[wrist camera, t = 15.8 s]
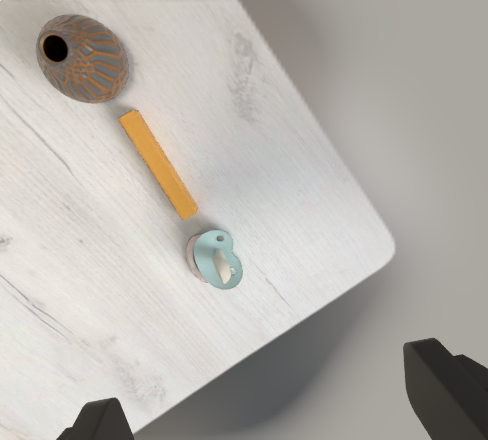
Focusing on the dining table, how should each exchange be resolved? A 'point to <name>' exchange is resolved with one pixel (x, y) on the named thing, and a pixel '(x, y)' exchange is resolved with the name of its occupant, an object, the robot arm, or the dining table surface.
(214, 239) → the pacifier
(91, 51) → the vase
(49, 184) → the dining table surface
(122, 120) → the wooden stick
